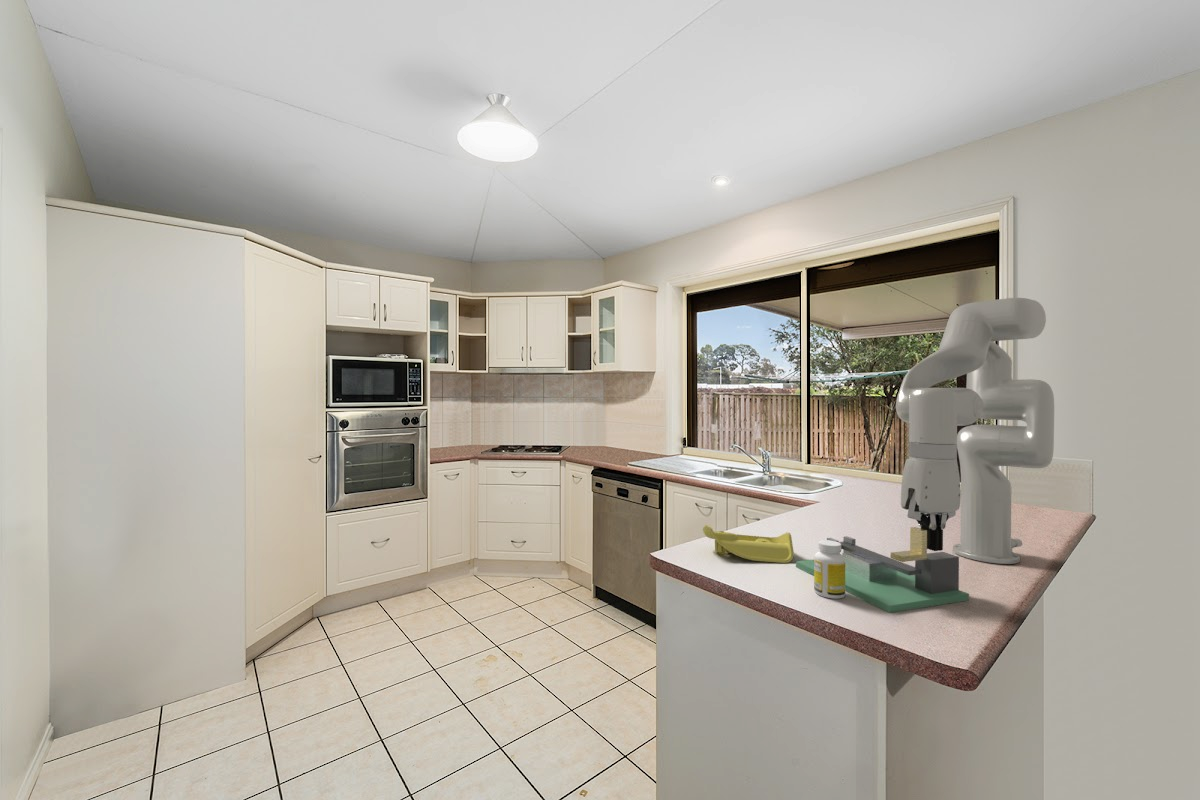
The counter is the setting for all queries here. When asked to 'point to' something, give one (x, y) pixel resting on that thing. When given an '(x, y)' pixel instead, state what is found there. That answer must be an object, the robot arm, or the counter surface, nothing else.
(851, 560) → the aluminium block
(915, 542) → the bracket
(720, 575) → the counter surface
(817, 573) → the supplement bottle
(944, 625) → the counter surface
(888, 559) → the dark grey flat bar
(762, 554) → the plastic component
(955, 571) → the block
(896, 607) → the board
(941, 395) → the robot arm
